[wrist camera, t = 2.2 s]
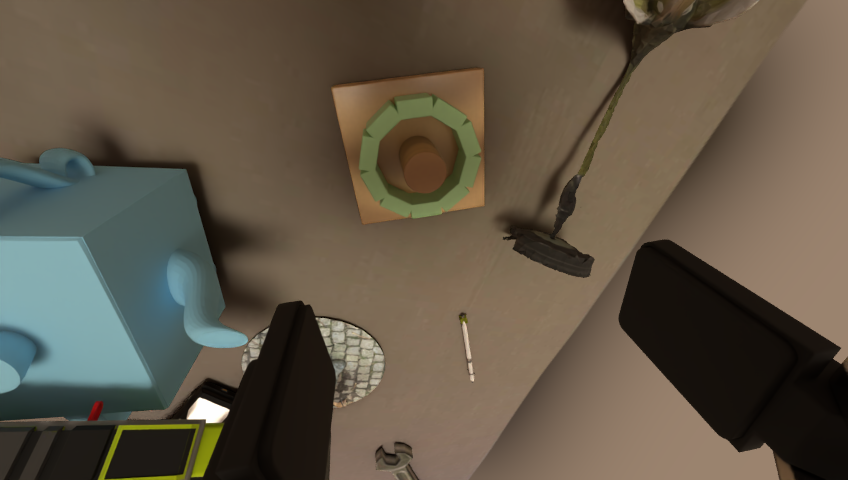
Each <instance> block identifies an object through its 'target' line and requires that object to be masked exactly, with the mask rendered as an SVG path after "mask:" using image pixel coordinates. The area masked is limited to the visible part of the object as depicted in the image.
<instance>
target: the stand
mask: <svg viewBox="0 0 848 480" xmlns="http://www.w3.org/2000/svg"><path fill="white" fill-rule="evenodd" d="M331 91H332V95H333V99H334V104H335V108H336V112H337V117H338V121H339V126H340V130H341V134H342V139H343V143H344V148H345V152H346V156H347V161H348V165H349V169H350V174H351V178H352V183H353V187H354V191H355V196H356V200H357V204H358V209H359V213H360V218H361V222H362V224H363V225H364V224H370V223H377V222H383V221H390V220H396V219H403V218H406V217H404V216H401V215H399V214H397V213H395V212H393V211H390V210H388V209H386V208H384V207H382V206H380V200H379V201H377V202H376V201H375V200H374V199H373V197H372V195H371V193H370V192H369V190H368V188H367V187H366V185H365V183H364V181H363V180H362V178H361V176H360V172H361V170H359V160H360V152H361V143H362V135H363V129H366V123H367V122H368V120H369V119H370V118H371V117H372V116H373V115H374V114H375V113H376V112H377V111H378V110H379V109H380V108H381V107H382V106H383V105H384V104H385V103H386V102H387V101H388V100H390V101H391V102H392V103H393V104H394V105H395V101H394V97H396V96H403V95H411V94H419V93H428V94H429V95H430V96H432V94H434V95H436V96H437V97H439V98H440V99H442V100H444V101H445V102H447V103H448V104H450V105H452V106H453V107H455V108H456V109H458V110H459V111H461V112H462V113H464V114H465V115H466V116H467V119H468V120H470V121H471V122H472V125H473V128H474V131H475V134H476V137H477V140H478V143H479V146H480V148H481V152H480V153H478V155H479V156H480V157H481V162H480V165H479V168H478V172H477V175H476V178H475V182H474V185H473V188H471V187H467V189H468V190H469V193H468V194H467V195H466V196H465V197H464V198H462V199H461V200H460V201H459V202H458V203H457V204H455V205H454V206H453V207H452V208H451V209H450V210H448V211H455V210H461V209H468V208H474V207H481V206H484V69H483V68H479V67H476V68H468V69H460V70H452V71H444V72H436V73H428V74H420V75H412V76H404V77H396V78H388V79H380V80H372V81H364V82H356V83H348V84H340V85H334V86H332V87H331ZM458 149H459V148H458V146H457V143H456V140H455V138H454V135H453V132H452V130H451V128H450V127H449V126H447V125H445V124H444V123H442V122H440V121H439V120H437V119H435V118H434V117H432V116H427V117H420V118H412V119H405V120H401V121H400V122H399V123H398V124H397V125H396V126H395V127H394V128H393V129H392V130H391V131H390V132H389V133H388V134H387V135H386V136H385V137H384V138H383V139H382V140H381V141H380V144H379V151H378V158H377V164H378V166H379V168H380V170H381V172H382V174H383V175H384V177H385V179H386V181H387V183H389V184H391V185H393V186H395V187H397V188H399V189H401V190H403V191H405V192H407V193H416V192H418V193H431V192H433V191H435V190H437V189H438V188H439V187H440V186H441V185H442V184H443V183H444V181H445V179H446V178H447V177H449V176H450V175H451V174H452V172H453V169H454V165H455V161H456V157H457V153H458ZM441 209H442V212H446V211H445V210H444V209H443V208H442V207H441ZM448 211H447V212H448ZM409 217H411V213H410V214H409V216H408V217H407V218H409Z"/></svg>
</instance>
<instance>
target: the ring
mask: <svg viewBox="0 0 848 480" xmlns="http://www.w3.org/2000/svg"><path fill="white" fill-rule="evenodd" d="M394 101H395V105H394V104H393V103H392V102H391V101H390V100H388V101H387V102H386V103H385V104H384V105H383V106H382V107H381V108H380V109H379V110H378V111H377V112H376V113H375V114H374V115H373V116H372V117H371V118H370V119H369V120H368V122H367V123H366V129H363V135H362V143H361V152H360V160H359V170H361V172H360V176H361V178H362V180H363V181H364V183H365V185H366V187H367V188H368V190H369V192H370V193H371V195H372V197H373V199H374V200H375V201H376V202H377V201H379V200H380V206H382V207H384V208H386V209H388V210H390V211H393V212H395V213H397V214H399V215H401V216H404V217H406V218H407V217H408V216H409V214H410V213H411V217H412V219H415V218H421V217H428V216H434V215H441V214H442V209H441V207H442V208H443V209H444V210H445V211H446V212H447V211H448V210H450V209H451V208H452V207H453V206H454V205H455V204H457V203H458V202H459V201H460V200H461V199H462V198H464V197H465V196H466V195H467V194H468V193H469V190H468V189H467V187H471V188H473V185H474V182H475V178H476V175H477V172H478V168H479V165H480V162H481V157H480V156H479V155H478V153H480V152H481V148H480V146H479V143H478V140H477V137H476V134H475V131H474V128H473V125H472V122H471V121H470V120H468V119H467V116H466V115H465V114H464V113H462V112H461V111H459V110H458V109H456V108H455V107H453V106H452V105H450V104H448V103H447V102H445V101H444V100H442V99H440V98H439V97H437V96H436V95H434V94H432V96H430V95H429V94H428V93H419V94H411V95H403V96H396V97H394ZM427 116H432V117H434V118H435V119H437V120H439V121H440V122H442V123H444V124H445V125H447V126H449V127H450V128H451V130H452V132H453V135H454V138H455V140H456V143H457V146H458V148H459V149H458V153H457V157H456V161H455V165H454V169H453V172H452V174H451V175H450V176H449V177H447V178H446V179H445V181H444V183H443V184H442V185H441V186H440V187H439V188H438V189H437V190H435V191H433V192H431V193H418V192H416V193H407V192H405V191H403V190H401V189H399V188H397V187H395V186H393V185H391V184H389V183H387V181H386V179H385V177H384V175H383V174H382V172H381V170H380V168H379V166H378V164H377V158H378V151H379V144H380V141H381V140H382V139H383V138H384V137H385V136H386V135H387V134H388V133H389V132H390V131H391V130H392V129H393V128H394V127H395V126H396V125H397V124H398V123H399V122H400V121H401V120H405V119H412V118H420V117H427Z"/></svg>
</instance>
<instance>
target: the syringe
mask: <svg viewBox="0 0 848 480" xmlns="http://www.w3.org/2000/svg"><path fill="white" fill-rule="evenodd" d="M459 319H460V322H461V324H462V329H463V335H464V342H465V348H466V355H467V361H468V368H469V374H470V380H471V381H472V382H473V381H474V374H475V373H474V372H473V369H474V368H473V367H472V360H471V353H470V346H469V339H468V332H467V326H466V323H468V321H467V319H466V314H465V316H464V315H461V316H459ZM467 370H468V369H467ZM473 373H474V374H473Z"/></svg>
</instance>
